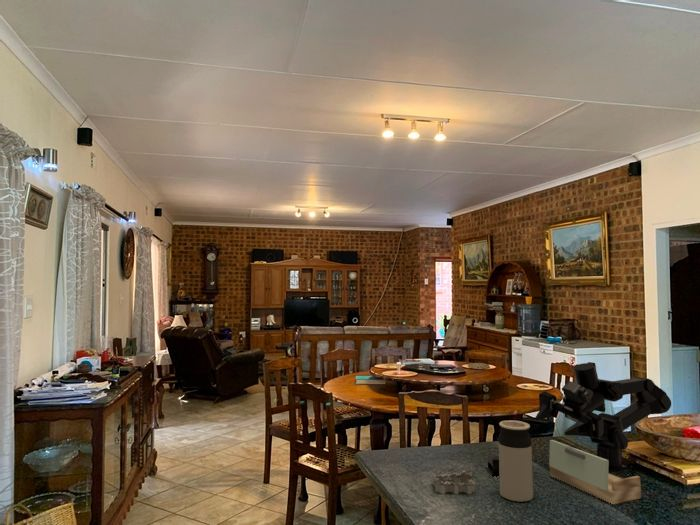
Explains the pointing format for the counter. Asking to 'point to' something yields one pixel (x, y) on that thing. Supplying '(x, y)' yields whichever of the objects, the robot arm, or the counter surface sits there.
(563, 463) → the panel
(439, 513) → the counter surface
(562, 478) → the cart bed
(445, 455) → the counter surface
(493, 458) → the build plate
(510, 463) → the travel mug
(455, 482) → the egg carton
